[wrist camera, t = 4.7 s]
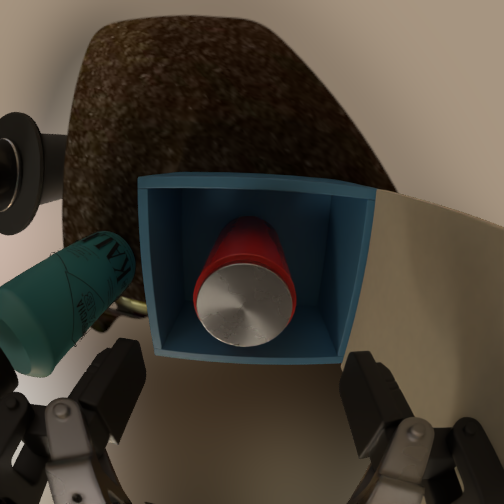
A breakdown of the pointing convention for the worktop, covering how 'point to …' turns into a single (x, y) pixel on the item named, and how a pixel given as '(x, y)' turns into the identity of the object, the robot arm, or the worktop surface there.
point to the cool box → (293, 244)
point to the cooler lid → (436, 311)
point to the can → (245, 285)
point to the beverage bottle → (59, 304)
